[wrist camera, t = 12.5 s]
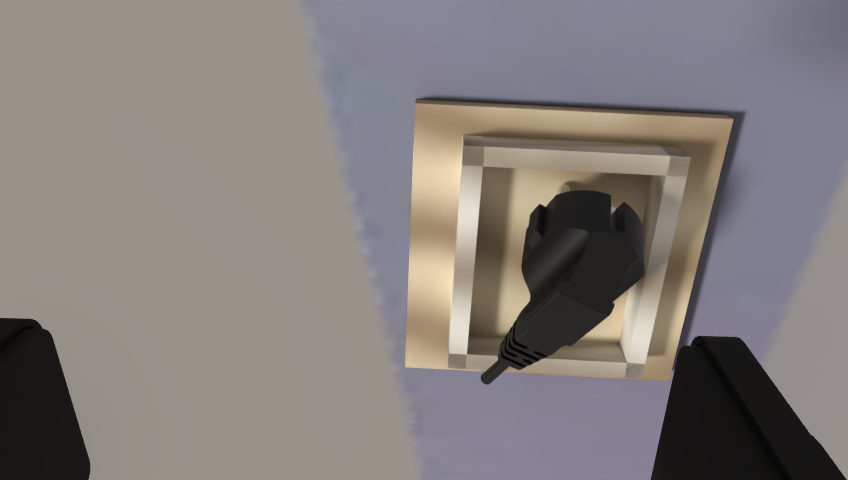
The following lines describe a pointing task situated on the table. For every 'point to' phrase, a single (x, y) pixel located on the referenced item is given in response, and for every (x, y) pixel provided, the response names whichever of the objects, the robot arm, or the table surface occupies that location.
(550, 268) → the power plug
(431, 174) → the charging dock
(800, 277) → the table surface
